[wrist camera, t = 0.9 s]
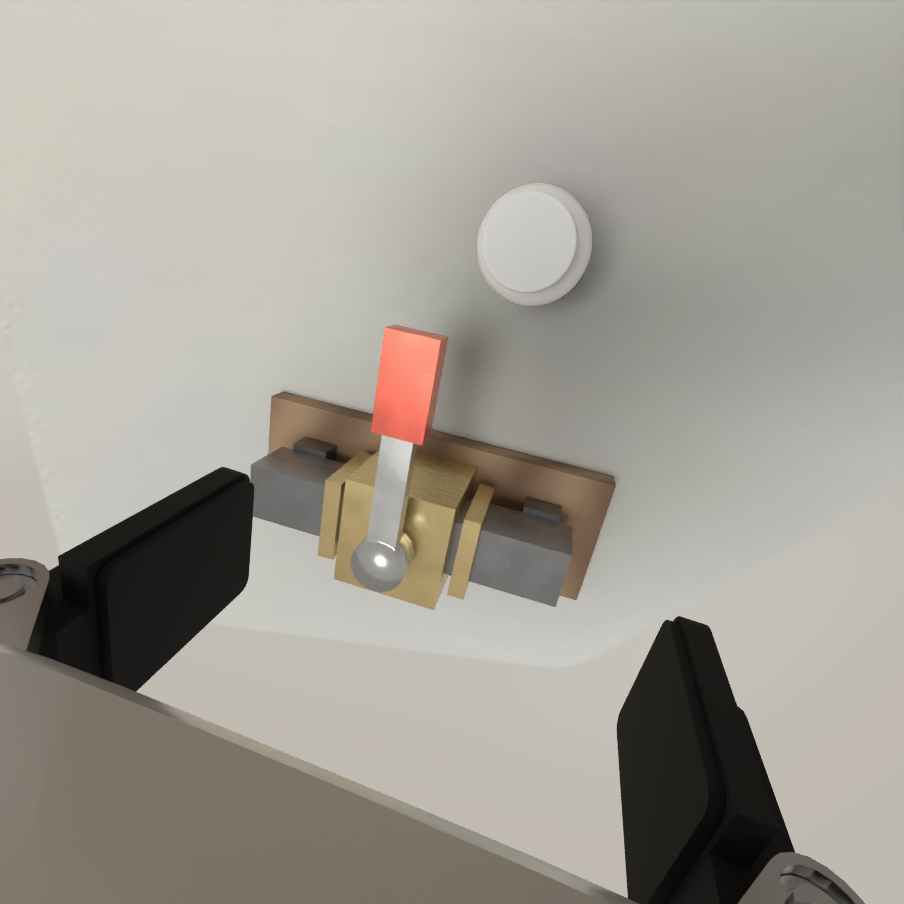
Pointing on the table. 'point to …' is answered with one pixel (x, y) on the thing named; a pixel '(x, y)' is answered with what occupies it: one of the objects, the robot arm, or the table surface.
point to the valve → (418, 523)
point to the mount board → (496, 466)
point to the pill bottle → (534, 244)
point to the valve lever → (398, 449)
